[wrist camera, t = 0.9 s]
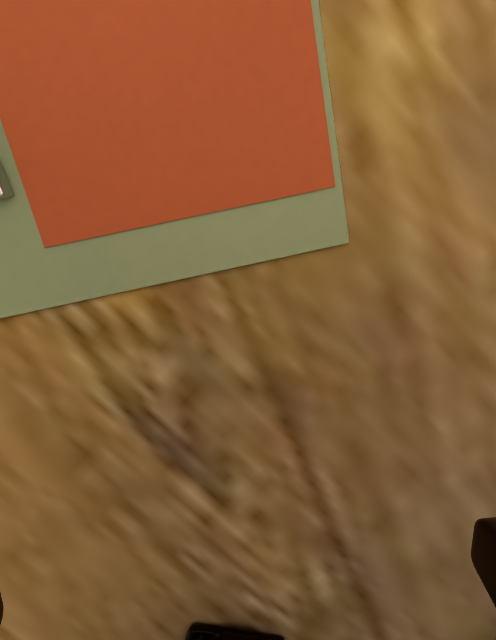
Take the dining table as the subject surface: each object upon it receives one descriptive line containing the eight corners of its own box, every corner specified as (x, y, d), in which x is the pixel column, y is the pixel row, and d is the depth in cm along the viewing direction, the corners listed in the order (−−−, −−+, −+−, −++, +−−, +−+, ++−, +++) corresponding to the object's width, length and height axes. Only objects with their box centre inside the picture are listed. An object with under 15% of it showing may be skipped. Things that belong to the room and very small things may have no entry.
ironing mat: (296, -141, 16) (301, -156, 15) (346, 242, 20) (351, 243, 19) (-454, -9, 15) (-486, -19, 14) (-234, 367, 19) (-251, 373, 18)
